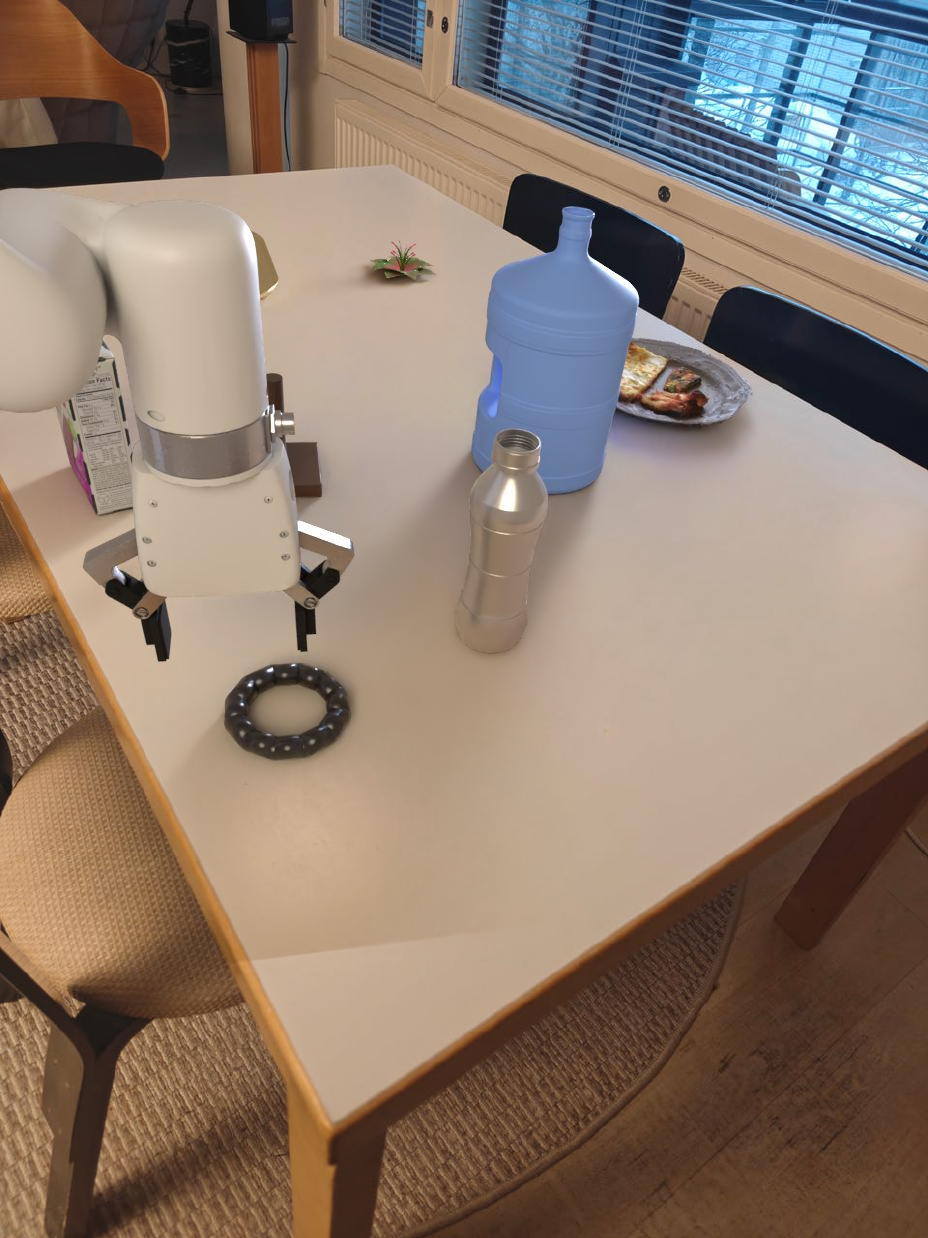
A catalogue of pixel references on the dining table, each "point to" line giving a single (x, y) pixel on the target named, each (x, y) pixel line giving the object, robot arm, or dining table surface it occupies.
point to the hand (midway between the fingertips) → (234, 643)
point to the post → (297, 448)
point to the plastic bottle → (502, 543)
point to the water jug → (557, 356)
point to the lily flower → (402, 264)
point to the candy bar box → (100, 438)
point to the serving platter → (264, 267)
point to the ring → (288, 744)
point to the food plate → (678, 385)
